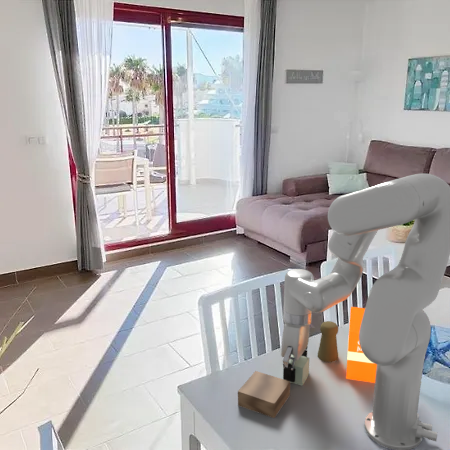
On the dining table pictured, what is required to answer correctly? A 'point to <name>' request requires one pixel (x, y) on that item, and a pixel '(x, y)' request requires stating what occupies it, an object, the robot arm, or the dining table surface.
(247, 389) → the walnut block
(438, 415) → the dining table surface
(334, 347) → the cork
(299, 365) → the sage cube
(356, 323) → the orange juice
